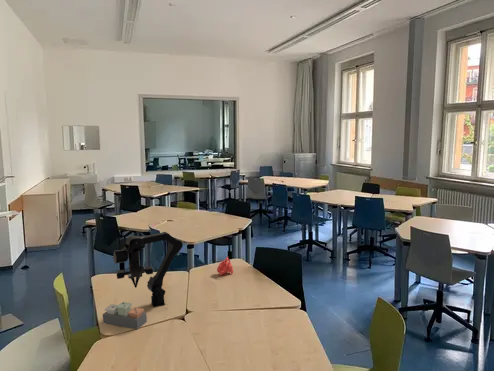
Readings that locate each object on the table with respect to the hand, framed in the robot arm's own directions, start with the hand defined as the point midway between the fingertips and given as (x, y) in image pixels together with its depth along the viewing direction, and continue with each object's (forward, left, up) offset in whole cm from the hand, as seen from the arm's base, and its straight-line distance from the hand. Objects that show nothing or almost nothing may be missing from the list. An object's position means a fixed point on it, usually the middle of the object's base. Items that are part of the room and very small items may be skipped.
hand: (135, 287), depth 205 cm
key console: (+7, +12, -13) cm, 19 cm away
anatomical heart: (-61, -32, -13) cm, 71 cm away
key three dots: (+2, +17, -13) cm, 21 cm away
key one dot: (+12, +8, -13) cm, 19 cm away
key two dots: (+7, +12, -10) cm, 18 cm away
